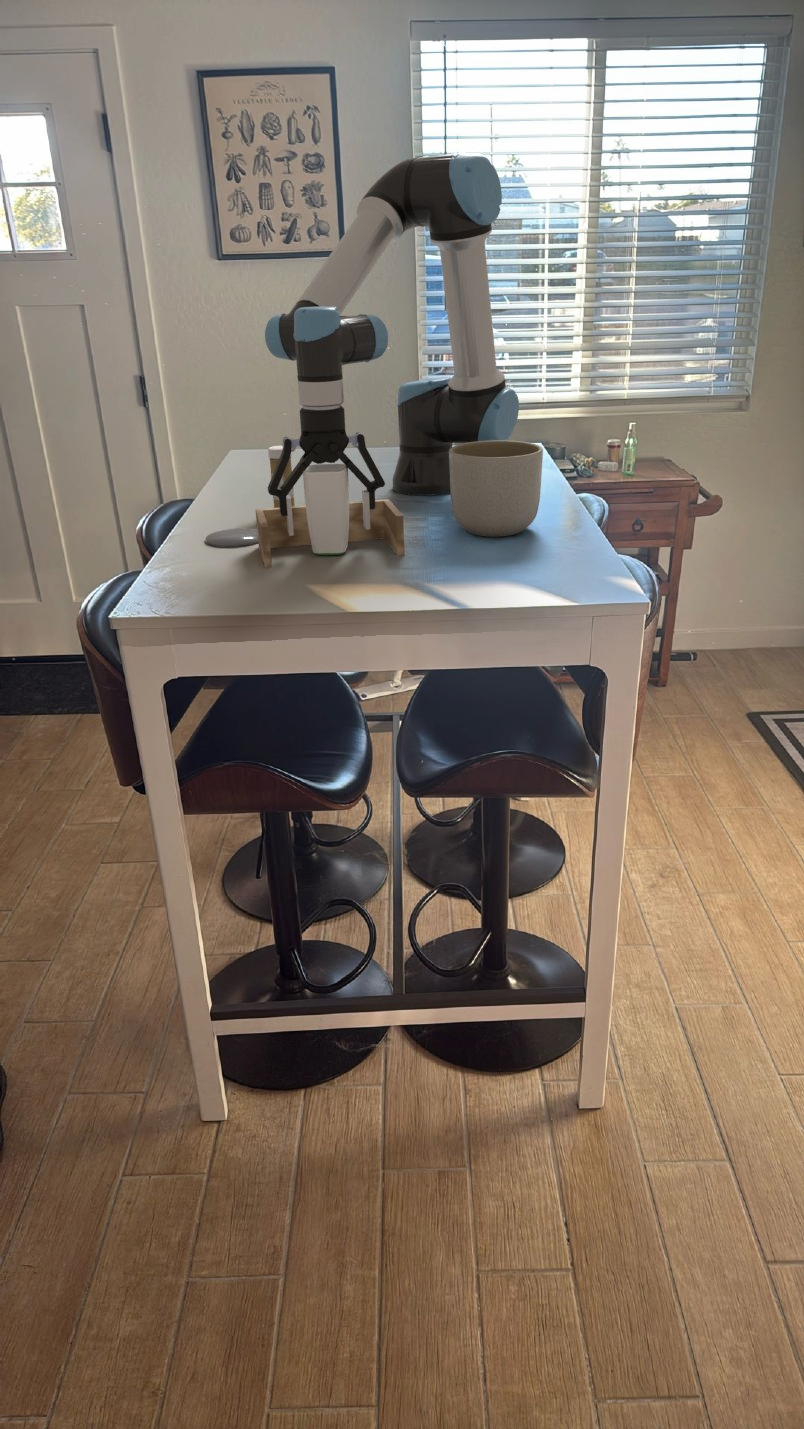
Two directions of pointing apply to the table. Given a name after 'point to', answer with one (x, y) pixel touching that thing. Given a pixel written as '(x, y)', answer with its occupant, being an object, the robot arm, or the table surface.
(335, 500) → the cup
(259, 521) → the wooden stand
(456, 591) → the table surface
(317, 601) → the table surface
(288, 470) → the sprinkles bottle
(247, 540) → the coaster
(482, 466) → the planter
